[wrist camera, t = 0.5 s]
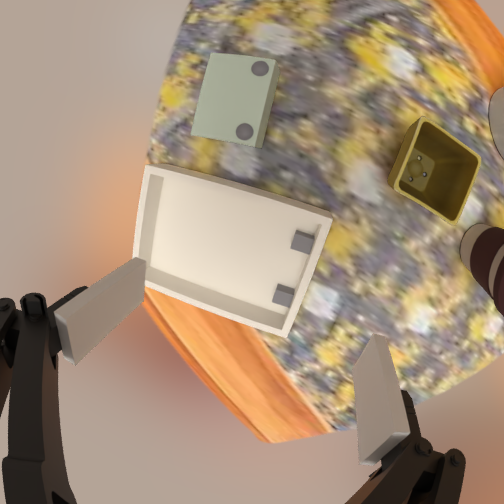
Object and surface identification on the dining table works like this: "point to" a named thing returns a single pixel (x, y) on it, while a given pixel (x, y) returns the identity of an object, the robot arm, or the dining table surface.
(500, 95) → the utensil holder
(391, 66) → the dining table surface
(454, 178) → the flower pot
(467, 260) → the coffee cup
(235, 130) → the dotted green block
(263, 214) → the tray
